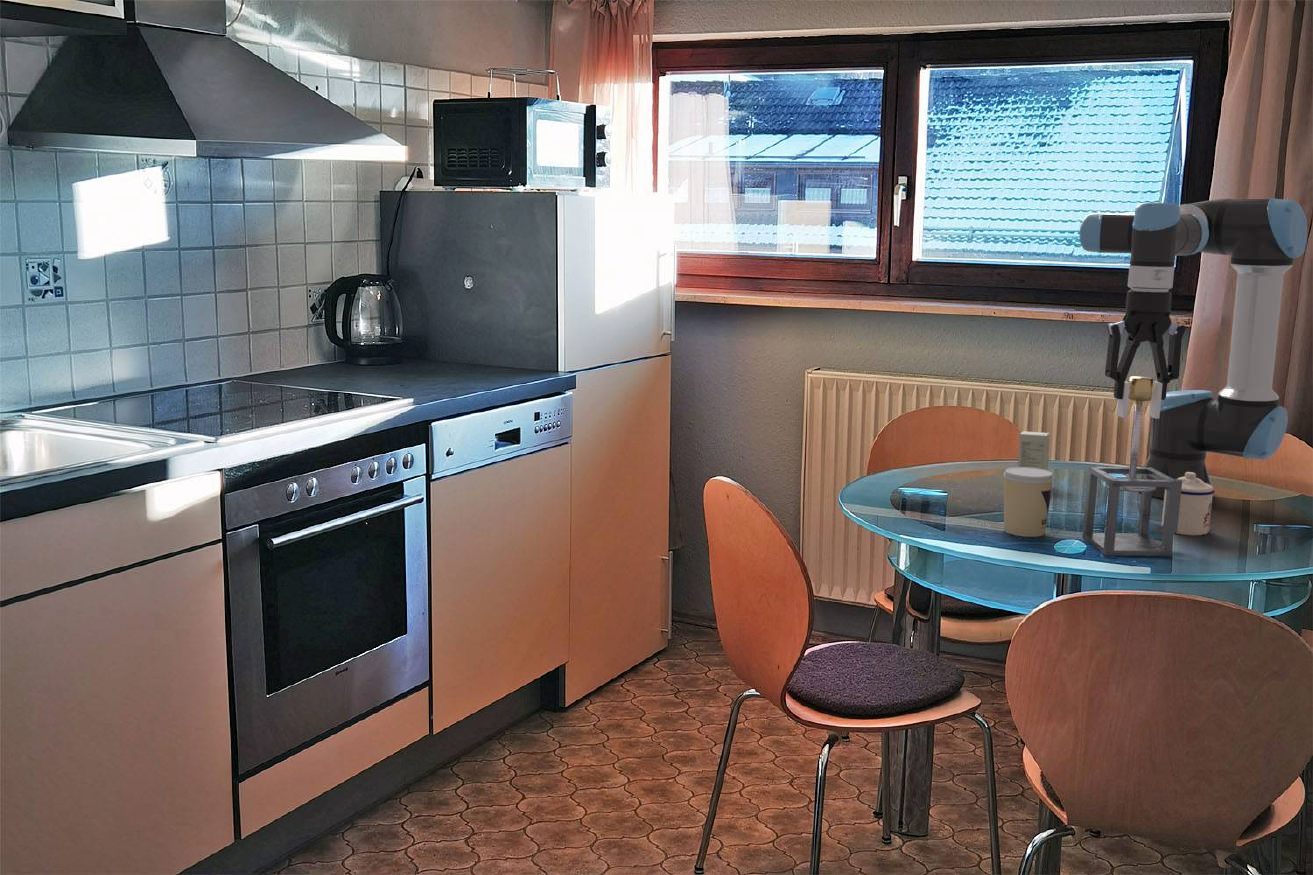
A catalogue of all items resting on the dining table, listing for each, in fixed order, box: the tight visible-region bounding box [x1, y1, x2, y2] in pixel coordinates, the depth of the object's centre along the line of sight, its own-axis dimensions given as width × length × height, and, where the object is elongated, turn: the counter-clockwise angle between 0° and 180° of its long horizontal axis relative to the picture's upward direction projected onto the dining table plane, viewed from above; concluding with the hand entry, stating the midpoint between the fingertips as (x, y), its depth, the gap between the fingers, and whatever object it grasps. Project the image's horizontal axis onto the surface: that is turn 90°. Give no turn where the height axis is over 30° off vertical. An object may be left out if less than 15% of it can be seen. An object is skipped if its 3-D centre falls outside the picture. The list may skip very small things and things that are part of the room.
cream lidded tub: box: [1002, 466, 1055, 538], centre depth 233 cm, size 9×9×12 cm
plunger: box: [1106, 375, 1156, 493], centre depth 220 cm, size 8×8×20 cm
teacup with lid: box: [1161, 472, 1215, 536], centre depth 237 cm, size 12×9×12 cm
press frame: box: [1082, 466, 1182, 557], centre depth 223 cm, size 15×12×14 cm
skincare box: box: [1017, 430, 1051, 471], centre depth 272 cm, size 6×4×12 cm
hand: (1137, 416), depth 220 cm, fingers open, 5 cm apart
